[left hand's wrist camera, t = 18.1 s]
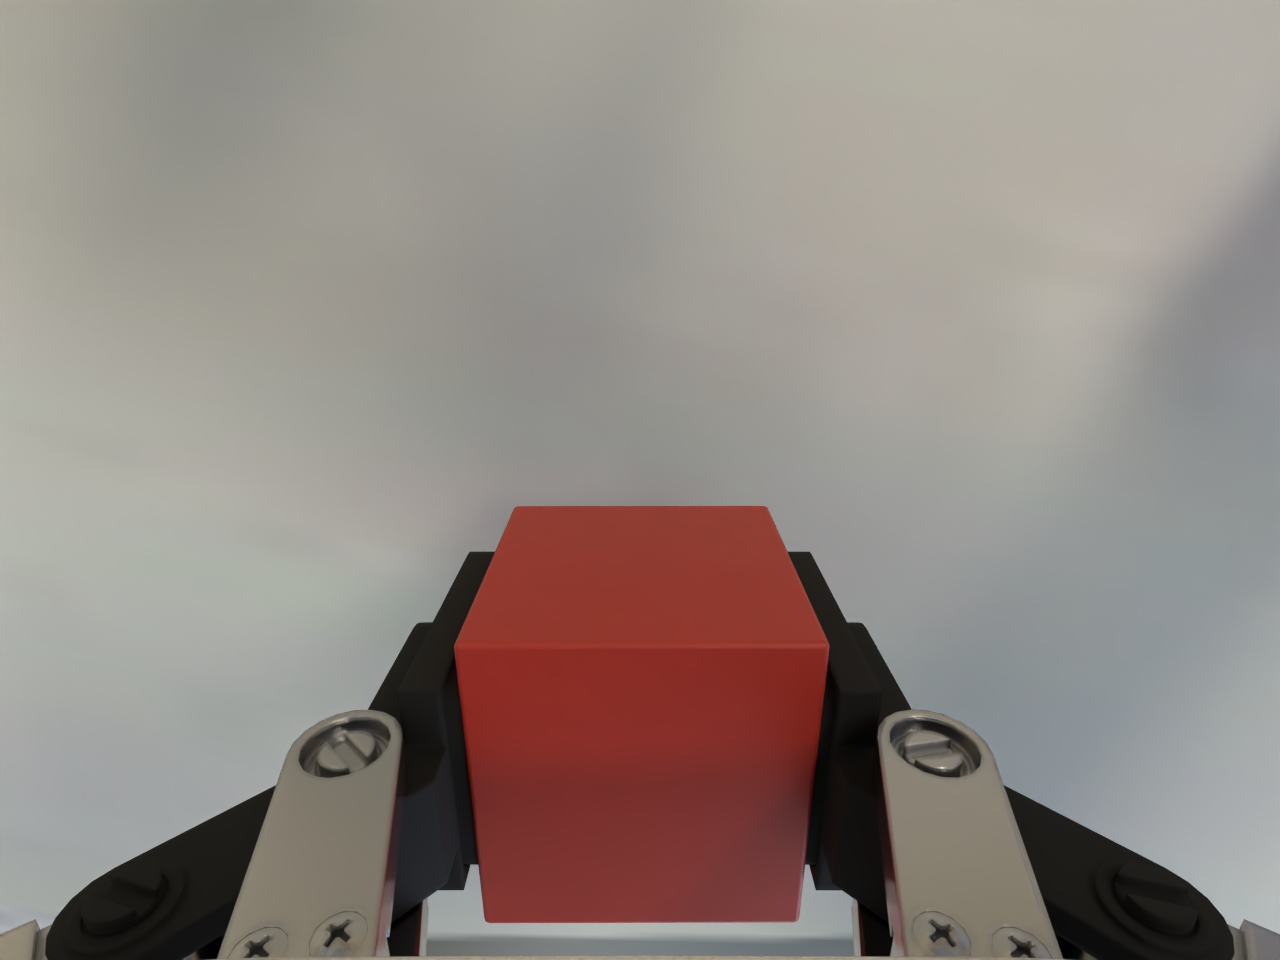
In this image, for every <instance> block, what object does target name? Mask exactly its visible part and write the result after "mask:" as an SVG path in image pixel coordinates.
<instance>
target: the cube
mask: <svg viewBox="0 0 1280 960" xmlns="http://www.w3.org/2000/svg"><path fill="white" fill-rule="evenodd" d="M829 647H830V646H829V643H828V641H827V638H826V636H825V634H824V632H823V630H822V627H821V625H820V623H819V621H818V619H817V616H816V614H815V612H814V610H813V607H812V605H811V603H810V601H809V599H808V596H807V594H806V592H805V590H804V588H803V585H802V583H801V581H800V579H799V577H798V574H797V572H796V570H795V568H794V566H793V563H792V561H791V559H790V557H789V554H788V552H787V550H786V548H785V546H784V543H783V541H782V539H781V537H780V535H779V532H778V530H777V528H776V526H775V524H774V521H773V519H772V517H771V515H770V513H769V510H768V508H767V507H765V506H518V507H515V508H514V510H513V512H512V515H511V517H510V519H509V521H508V524H507V526H506V528H505V531H504V533H503V535H502V537H501V540H500V542H499V544H498V547H497V549H496V551H495V553H494V556H493V558H492V560H491V563H490V565H489V567H488V569H487V572H486V574H485V576H484V579H483V581H482V583H481V585H480V588H479V590H478V592H477V595H476V597H475V599H474V601H473V604H472V606H471V608H470V611H469V613H468V615H467V617H466V620H465V622H464V624H463V627H462V629H461V631H460V633H459V636H458V638H457V640H456V643H455V645H454V651H455V660H456V669H457V678H458V687H459V696H460V705H461V714H462V722H463V731H464V740H465V749H466V758H467V767H468V776H469V784H470V793H471V802H472V811H473V820H474V829H475V838H476V847H477V856H478V865H479V874H480V882H481V891H482V900H483V909H484V917H485V921H486V922H488V923H678V922H796V921H798V919H799V913H800V904H801V895H802V887H803V878H804V869H805V859H806V850H807V842H808V833H809V824H810V815H811V806H812V797H813V788H814V779H815V771H816V762H817V753H818V744H819V735H820V726H821V717H822V709H823V700H824V692H825V683H826V674H827V665H828V656H829Z"/></svg>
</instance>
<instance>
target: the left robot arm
mask: <svg viewBox="0 0 1280 960" xmlns="http://www.w3.org/2000/svg"><path fill="white" fill-rule="evenodd" d="M494 553H495V552H469V554H468V555H467V557H466V559H465V561H464V563H463V565H462V567H461V569H460V571H459V573H458V575H457V577H456V579H455V580H454V582H453V584H452V586H451V588H450V590H449V592H448V594H447V596H446V598H445V600H444V602H443V604H442V606H441V607H440V609H439V611H438V613H437V615H436V617H435V619H434V621H433V623H418V624H416V626H415V627H414V628H413V630H412V632H411V633H410V635H409V637H408V639H407V641H406V642H405V644H404V646H403V648H402V650H401V651H400V653H399V655H398V657H397V658H396V660H395V662H394V664H393V666H392V667H391V669H390V671H389V673H388V675H387V676H386V678H385V680H384V682H383V683H382V685H381V687H380V689H379V691H378V692H377V694H376V696H375V698H374V700H373V701H372V703H371V705H370V707H369V709H368V710H354V711H349V712H345V713H341V714H337V715H334V716H332V717H329V718H327V719H325V720H322V721H320V722H318V723H317V724H315V725H314V726H312V727H311V728H309V729H308V730H306V731H305V732H304V733H303V734H302V735H301V736H300V737H299V738H298V739H297V740H296V741H295V742H294V743H293V745H292V746H291V748H290V750H289V752H288V753H287V756H286V758H285V761H284V764H283V767H282V770H281V773H280V776H279V779H278V782H277V785H276V786H274V787H272V788H270V789H268V790H266V791H264V792H262V793H260V794H258V795H256V796H254V797H252V798H250V799H248V800H246V801H244V802H242V803H240V804H238V805H237V806H235V807H233V808H231V809H229V810H227V811H225V812H223V813H221V814H219V815H217V816H215V817H213V818H211V819H209V820H207V821H205V822H203V823H201V824H199V825H198V826H196V827H194V828H192V829H190V830H188V831H186V832H184V833H182V834H180V835H178V836H176V837H174V838H172V839H170V840H168V841H166V842H164V843H162V844H160V845H158V846H157V847H155V848H153V849H151V850H149V851H147V852H145V853H143V854H141V855H139V856H137V857H135V858H133V859H131V860H129V861H127V862H125V863H123V864H121V865H119V866H118V867H116V868H114V869H112V870H111V871H109V872H107V873H106V874H104V875H102V876H101V877H99V878H97V879H96V880H94V881H92V882H91V883H90V884H89V885H88V886H86V887H85V888H84V889H83V890H82V891H80V892H79V893H78V894H77V895H76V896H74V897H73V898H72V899H71V900H70V901H69V903H68V904H67V905H66V906H65V907H64V909H63V910H62V911H61V912H60V913H59V914H58V916H57V917H56V918H55V920H54V922H53V924H52V925H50V926H48V927H45V928H43V929H41V930H40V928H39V926H38V923H37V921H36V919H35V920H33V921H30V922H28V923H26V924H23V925H21V926H19V927H16V928H14V929H12V930H9V931H7V932H5V933H2V934H0V960H1280V934H1277V933H1275V932H1273V931H1270V930H1268V929H1266V928H1263V927H1261V926H1259V925H1256V924H1254V923H1252V922H1249V921H1247V920H1245V919H1244V920H1243V922H1242V924H1241V927H1240V929H1237V928H1235V927H1232V926H1230V925H1228V924H1227V923H1226V921H1225V919H1224V917H1223V916H1222V915H1221V914H1220V913H1219V911H1218V910H1217V909H1216V908H1215V907H1214V905H1213V904H1212V903H1211V902H1210V901H1209V899H1208V898H1206V897H1205V896H1204V895H1203V894H1202V893H1200V892H1199V891H1198V890H1197V889H1196V888H1194V887H1193V886H1192V885H1191V884H1190V883H1188V882H1187V881H1186V880H1184V879H1182V878H1181V877H1179V876H1177V875H1176V874H1174V873H1172V872H1171V871H1169V870H1168V869H1166V868H1164V867H1162V866H1160V865H1158V864H1156V863H1154V862H1152V861H1150V860H1149V859H1147V858H1145V857H1143V856H1141V855H1139V854H1137V853H1135V852H1133V851H1131V850H1129V849H1127V848H1125V847H1123V846H1121V845H1119V844H1117V843H1115V842H1113V841H1111V840H1109V839H1108V838H1106V837H1104V836H1102V835H1100V834H1098V833H1096V832H1094V831H1092V830H1090V829H1088V828H1086V827H1084V826H1082V825H1080V824H1078V823H1076V822H1074V821H1072V820H1070V819H1069V818H1067V817H1065V816H1063V815H1061V814H1059V813H1057V812H1055V811H1053V810H1051V809H1049V808H1047V807H1045V806H1043V805H1041V804H1039V803H1037V802H1035V801H1033V800H1031V799H1029V798H1028V797H1026V796H1024V795H1022V794H1020V793H1018V792H1016V791H1014V790H1012V789H1010V788H1008V787H1006V786H1004V785H1003V782H1002V779H1001V776H1000V773H999V770H998V767H997V764H996V761H995V758H994V756H993V753H992V752H991V750H990V748H989V746H988V745H987V743H986V742H985V741H984V740H983V739H982V738H981V737H980V736H979V735H978V734H977V733H976V732H975V731H974V730H972V729H971V728H969V727H968V726H966V725H965V724H963V723H962V722H960V721H958V720H955V719H953V718H951V717H948V716H946V715H943V714H939V713H935V712H931V711H926V710H912V709H911V708H910V706H909V704H908V702H907V700H906V699H905V697H904V695H903V693H902V691H901V690H900V688H899V686H898V684H897V683H896V681H895V679H894V677H893V675H892V674H891V672H890V670H889V668H888V666H887V665H886V663H885V661H884V659H883V657H882V656H881V654H880V652H879V650H878V649H877V647H876V645H875V643H874V641H873V640H872V638H871V636H870V634H869V632H868V631H867V629H866V628H865V626H864V625H863V624H862V623H847V622H846V620H845V618H844V616H843V614H842V612H841V610H840V608H839V606H838V605H837V603H836V601H835V599H834V597H833V595H832V593H831V591H830V589H829V587H828V585H827V583H826V581H825V579H824V578H823V576H822V574H821V572H820V570H819V568H818V566H817V564H816V562H815V560H814V558H813V556H812V554H811V553H810V552H788V554H789V557H790V559H791V561H792V563H793V566H794V568H795V570H796V572H797V574H798V577H799V579H800V581H801V583H802V585H803V588H804V590H805V592H806V594H807V596H808V599H809V601H810V603H811V605H812V607H813V610H814V612H815V614H816V616H817V619H818V621H819V623H820V625H821V627H822V630H823V632H824V634H825V636H826V638H827V641H828V643H829V646H830V647H829V656H828V665H827V674H826V683H825V692H824V700H823V709H822V717H821V726H820V735H819V744H818V753H817V762H816V771H815V779H814V788H813V797H812V806H811V815H810V824H809V833H808V842H807V850H806V859H805V864H809V866H810V869H811V873H812V877H813V881H814V885H815V888H816V890H843V891H844V892H845V893H847V894H848V895H850V896H851V897H852V898H853V902H852V924H853V941H854V956H426V941H427V924H428V902H427V897H428V896H430V895H431V894H433V893H434V892H436V891H437V890H464V887H465V883H466V879H467V875H468V872H469V868H470V864H478V856H477V847H476V838H475V829H474V820H473V811H472V802H471V793H470V784H469V776H468V767H467V758H466V749H465V740H464V731H463V722H462V714H461V705H460V696H459V687H458V678H457V669H456V660H455V651H454V645H455V643H456V640H457V638H458V636H459V633H460V631H461V629H462V627H463V624H464V622H465V620H466V617H467V615H468V613H469V611H470V608H471V606H472V604H473V601H474V599H475V597H476V595H477V592H478V590H479V588H480V585H481V583H482V581H483V579H484V576H485V574H486V572H487V569H488V567H489V565H490V563H491V560H492V558H493V556H494Z"/></svg>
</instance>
